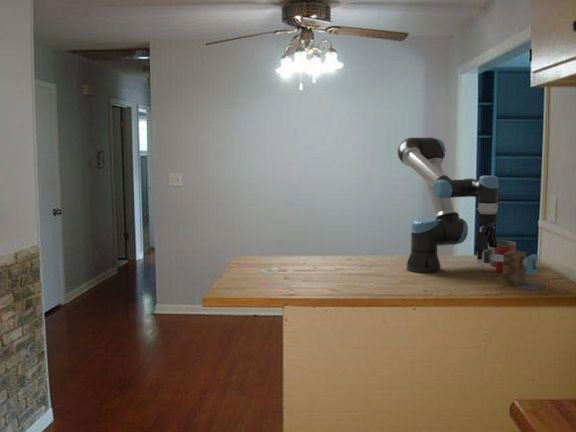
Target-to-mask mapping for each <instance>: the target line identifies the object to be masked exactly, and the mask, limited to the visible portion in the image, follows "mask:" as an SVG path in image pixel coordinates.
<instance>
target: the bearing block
mask: <svg viewBox="0 0 576 432" xmlns="http://www.w3.org/2000/svg"><path fill="white" fill-rule="evenodd" d="M521 257H522V258H527V252H526V251H521V250H515V251H513V250H511V251H509V252H506V253H504V256H503V273H502V280H501V281H502V283H501V285H502V286H506V287H513V288H517V286H519V285H521V284H523V283H524V282H526V281H525V280H526V267H527V265H521Z"/></svg>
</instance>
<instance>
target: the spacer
mask: <svg viewBox="0 0 576 432" xmlns="http://www.w3.org/2000/svg"><path fill="white" fill-rule="evenodd" d="M526 258H527V265H526V268H525V275H530V276H532V275H534V274H535V273H537V272H538V266H533V261H534V260H536V259H537V260H539V254H537V253H536V254H535V253H532V254H530V255H528V256H526Z"/></svg>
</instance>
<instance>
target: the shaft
mask: <svg viewBox="0 0 576 432" xmlns="http://www.w3.org/2000/svg"><path fill="white" fill-rule="evenodd" d="M483 252H484V264H490V263H491V262H492V261H499V262H503V256H504V255H498V254H492V252H493V250H488V249H485V248H484V250H483ZM539 262H540V261H539V259H538V260H537V259H536V260H534V261H533V266H537V267H538V266H539ZM521 265H526V266H527V257H526V258H522V257H521Z"/></svg>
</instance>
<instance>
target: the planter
mask: <svg viewBox="0 0 576 432" xmlns="http://www.w3.org/2000/svg"><path fill="white" fill-rule="evenodd" d="M502 244H504V245H511V248H512V250H513V251H516V250H517V249H516V247H517V243H516V242H515V241H512V240H502V239H500V240H498V239H497V247H494V248H495V253H494V254H497V248H498V245H502ZM488 247H489V244H488V243H487V248H488ZM489 264H490V265H491V266H493V267H496V261H494V263H489Z"/></svg>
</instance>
